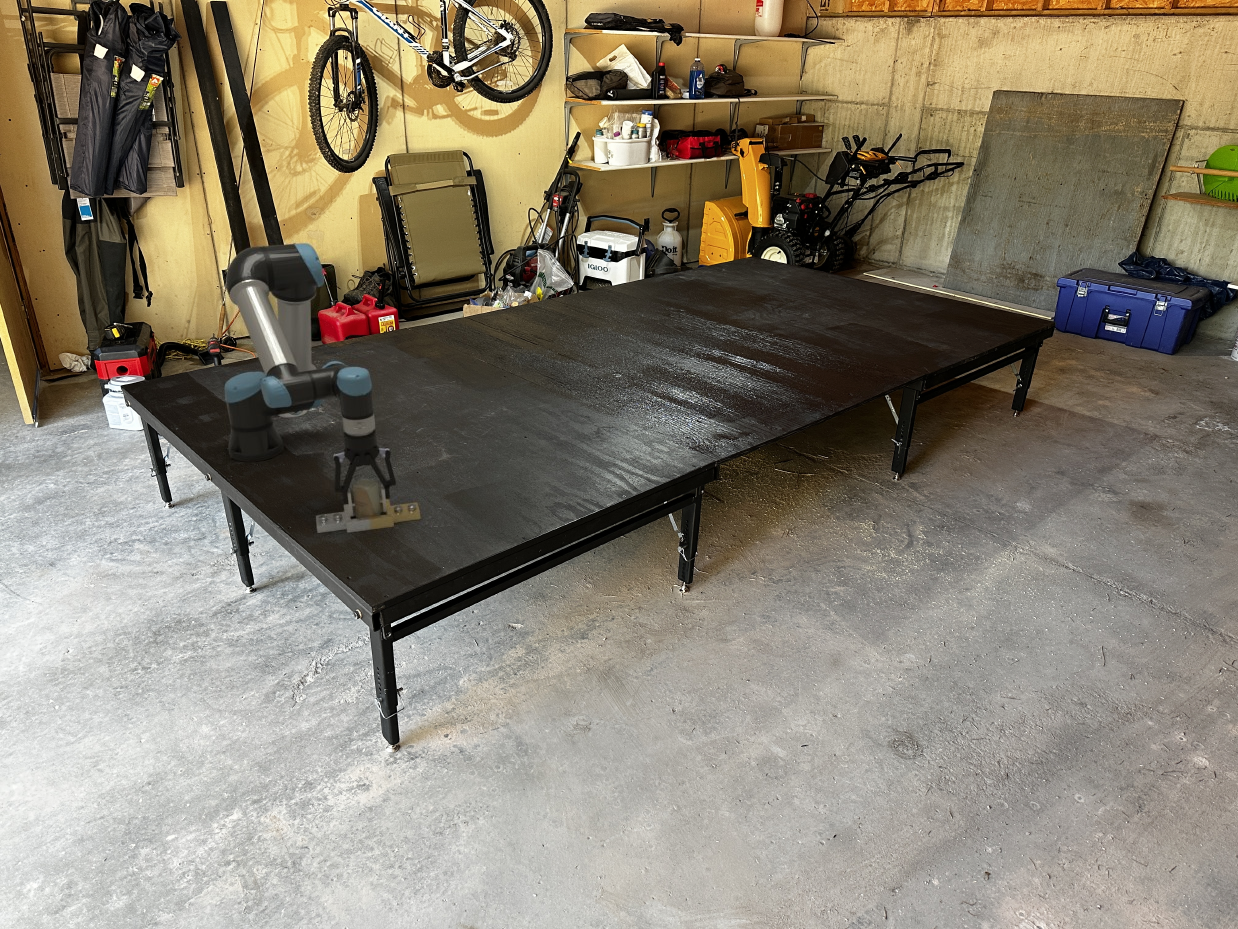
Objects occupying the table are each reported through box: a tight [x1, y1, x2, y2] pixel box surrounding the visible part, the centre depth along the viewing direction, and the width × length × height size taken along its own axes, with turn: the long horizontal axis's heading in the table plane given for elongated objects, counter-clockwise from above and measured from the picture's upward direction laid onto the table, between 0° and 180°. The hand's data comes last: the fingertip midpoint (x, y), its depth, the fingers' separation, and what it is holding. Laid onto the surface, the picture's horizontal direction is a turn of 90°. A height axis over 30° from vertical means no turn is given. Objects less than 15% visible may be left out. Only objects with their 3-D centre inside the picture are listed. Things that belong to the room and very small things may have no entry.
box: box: [352, 477, 382, 519], centre depth 213 cm, size 5×4×11 cm
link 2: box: [369, 498, 422, 530], centre depth 217 cm, size 13×9×3 cm
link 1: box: [315, 503, 372, 534], centre depth 213 cm, size 13×9×3 cm
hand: (368, 511), depth 214 cm, fingers open, 8 cm apart
